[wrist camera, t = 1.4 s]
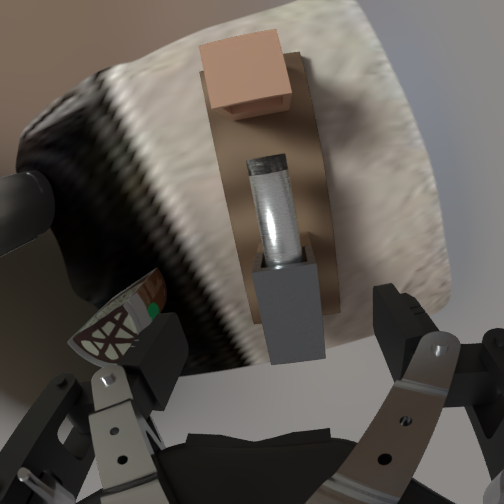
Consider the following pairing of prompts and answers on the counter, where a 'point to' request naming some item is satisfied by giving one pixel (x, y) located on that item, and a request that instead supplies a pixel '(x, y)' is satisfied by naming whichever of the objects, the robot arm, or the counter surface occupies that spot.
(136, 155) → the counter surface
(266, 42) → the socket
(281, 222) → the tube
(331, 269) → the dock
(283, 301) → the sleeve
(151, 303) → the food container
